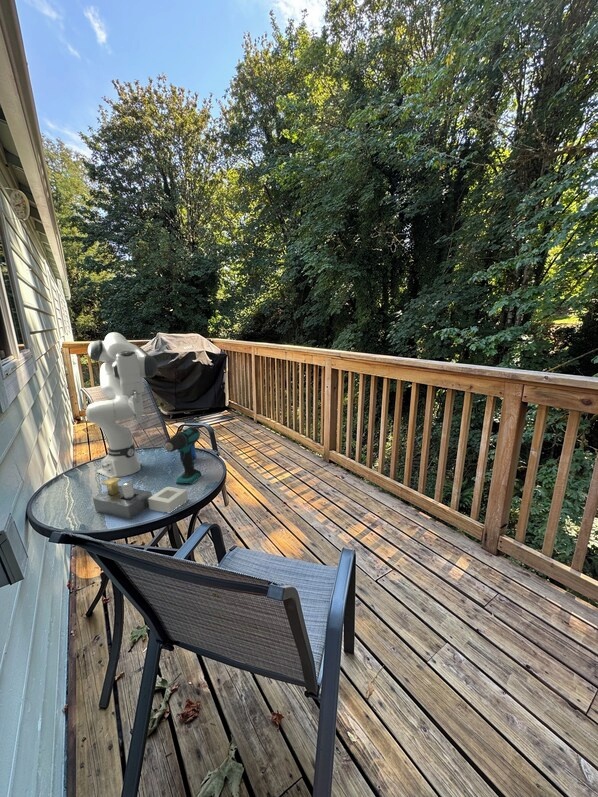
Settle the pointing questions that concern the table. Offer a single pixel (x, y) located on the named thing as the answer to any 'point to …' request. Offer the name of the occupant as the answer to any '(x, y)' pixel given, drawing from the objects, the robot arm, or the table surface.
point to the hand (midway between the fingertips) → (138, 419)
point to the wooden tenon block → (112, 485)
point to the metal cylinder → (128, 490)
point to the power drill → (185, 453)
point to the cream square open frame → (167, 499)
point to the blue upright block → (193, 452)
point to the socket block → (122, 503)
